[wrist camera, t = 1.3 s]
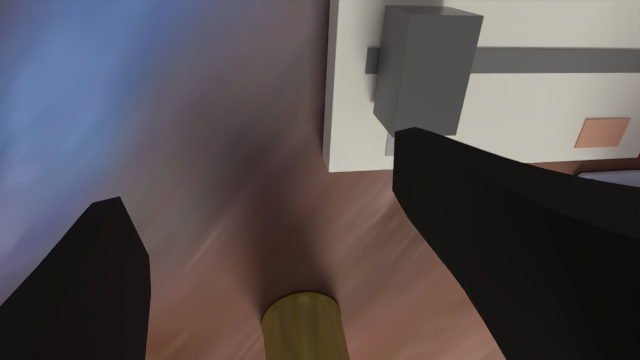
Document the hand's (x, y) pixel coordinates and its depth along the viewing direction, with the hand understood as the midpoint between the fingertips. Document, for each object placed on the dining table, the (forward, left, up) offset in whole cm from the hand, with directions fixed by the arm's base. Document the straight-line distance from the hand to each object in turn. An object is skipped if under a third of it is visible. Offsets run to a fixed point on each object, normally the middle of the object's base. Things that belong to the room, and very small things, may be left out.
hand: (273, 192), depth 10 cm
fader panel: (-14, -1, -11) cm, 18 cm away
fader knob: (-7, -1, -9) cm, 12 cm away
